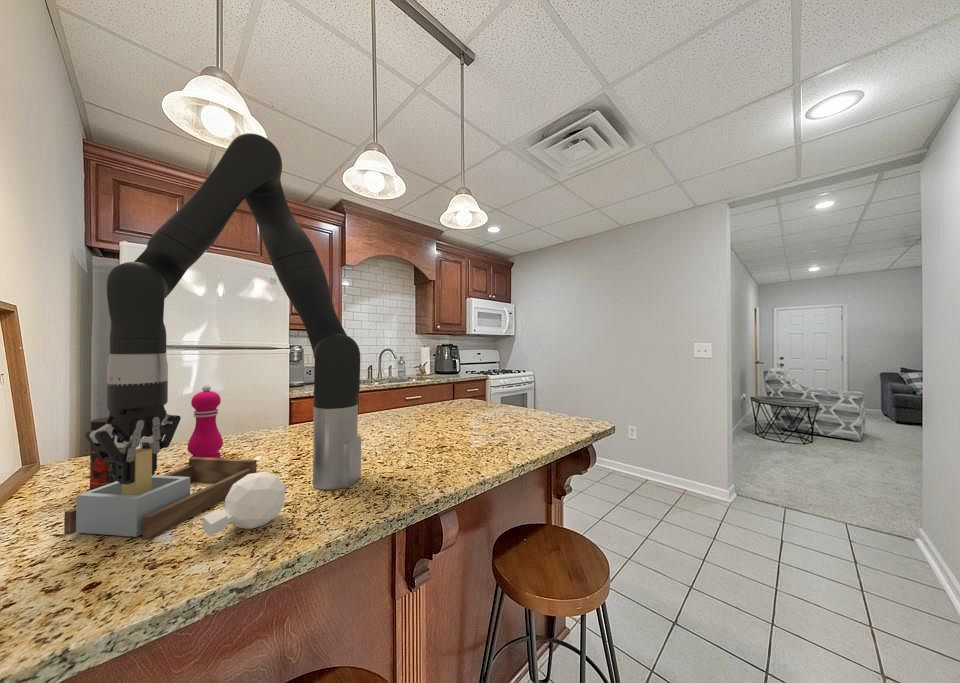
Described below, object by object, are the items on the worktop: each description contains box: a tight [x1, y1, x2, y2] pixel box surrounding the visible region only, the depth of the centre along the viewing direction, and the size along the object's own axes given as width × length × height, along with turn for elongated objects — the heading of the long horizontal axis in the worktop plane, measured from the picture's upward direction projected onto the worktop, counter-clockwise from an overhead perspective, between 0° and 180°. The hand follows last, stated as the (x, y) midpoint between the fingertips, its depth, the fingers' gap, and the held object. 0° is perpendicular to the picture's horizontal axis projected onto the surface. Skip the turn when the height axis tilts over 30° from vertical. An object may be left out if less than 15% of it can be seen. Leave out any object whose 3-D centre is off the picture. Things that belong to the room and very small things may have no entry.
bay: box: [63, 457, 258, 540], centre depth 66 cm, size 15×23×5 cm
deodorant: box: [89, 416, 129, 491], centre depth 72 cm, size 6×6×15 cm
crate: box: [75, 447, 191, 538], centre depth 60 cm, size 11×9×12 cm
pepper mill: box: [187, 385, 224, 459], centre depth 90 cm, size 7×7×20 cm
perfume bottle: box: [201, 471, 286, 537], centre depth 58 cm, size 9×9×12 cm
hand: (137, 479), depth 60 cm, fingers closed on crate, 2 cm apart
